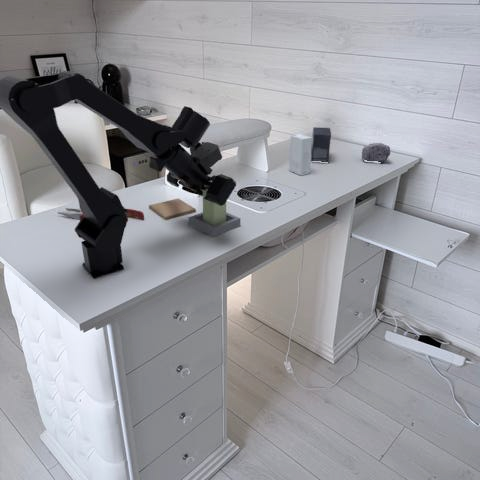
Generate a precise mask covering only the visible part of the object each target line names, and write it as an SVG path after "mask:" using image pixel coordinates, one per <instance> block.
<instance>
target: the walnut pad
mask: <svg viewBox="0 0 480 480" xmlns="http://www.w3.org/2000/svg"><path fill="white" fill-rule="evenodd" d="M148 209H149V210H151V211H152V212H154V213H155V214H156V215H158V216H159V217H161V218H162V219H163V220H165V221H167V220H170V219H175V218H177V217H182V216H185V215H189V214H193V213H197V210H196V208H195V207H193V206H192V205H190V204H188V203H187V202H185V201H183V200H182V199H181V198H174V199H170V200H166V201H162V202H158V203H153V204H149V205H148Z"/></svg>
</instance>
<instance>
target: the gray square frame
mask: <svg viewBox="0 0 480 480" xmlns="http://www.w3.org/2000/svg"><path fill="white" fill-rule="evenodd" d="M188 225H189V226H191V227H192V228H195V229H196V230H199V231H201V232H203V233H205V234H206V235H209V236H210V237H212V238H214V237H217V236H220V235H221V234H224V233H226V232H229V231H231V230H233V229H236V228H238V227H240V226H241V217H238V216H236V215H233V214H231V213H229V212H227V211H226V222H224V223H221V224H219V225H216V226H214V227H213V226H211V225H209V224H207V223H205V222H203V211H202V212H200V213H197V214H193V215H191V216H188Z"/></svg>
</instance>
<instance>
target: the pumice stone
mask: <svg viewBox="0 0 480 480" xmlns="http://www.w3.org/2000/svg"><path fill="white" fill-rule="evenodd" d="M390 155H391V148H390V146H389V145H387V144H385V143H382V142H373V143H372V142H371V143H369V144H368V145H364V147H363V148H362V150H361V159H362V160H363V159H364V160H367V161H378V162H382V163H384V161H386V160H388V158H389V156H390Z"/></svg>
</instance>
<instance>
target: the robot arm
mask: <svg viewBox="0 0 480 480" xmlns="http://www.w3.org/2000/svg"><path fill="white" fill-rule="evenodd" d="M72 101H74V102H76V103H78V104H79V105H81V106H82V107H84V108H86V109H87V110H89V111H90V112H92V113H94V114H96V115H97V116H99V117H100V118H102V119H103V120H104V121H106V122H107V123H110V124H111V125H113V126H114V127H116V128H117V129H119V131H121V132H122V133H123V135H124V136H125V138H126V139H127V140H129V141H130V142H131V143H132V144H133V145H135V147H136V148H138V149H141V150H143V151H146V152H149V153H151V154H154V155H152V156H151V155H150V156H149V165H148V166H149V168H150V169H152V170H154V171H157V172H159V173H162V171H163V170H164V169H166V170H167V171H168V172H167V174H166V181H167V183H169V184H170V185H171V186H174V187H175V188H179V187H180V185H181V186H182V187H181V190H183V191H184V192H187V193H188V194H189V193H190V194H193V195H198V196H201V197H203V191H206V190H207V192H206V196H205V198H204V199H206V200H208V201H210V202H213V203H215V204H218V205H220V206H222V205H224V204H225V203H226V204H227V201H228V199H229V198H230V196H231V195H232V193H233V192H234V190H235V188H236V186H237V182H236V180H234V178H232V177H230V176H227V175H224V174H223V173H220V174H217V175H212V176H210V175H211V174H212V173H213V172H214V171H213V169H212V167H213V166H214V165H215V164H217V162H219V161H221V160H222V159H223V155H222V152H221V150H220V149H221V148H219V145H218V144H216V143H213V142H209V141H202V142H200V141H201V140H202V138H203V136H204V135H205V134H206V132H207V130H208V129H209V127H210V126H211V123H210V121H209V119H207V117H205V116H203V115H202V114H200V113H199V112H197V111H195V110H194V109H193V108H192V107H189V106H185V105H184V106H183V108H182V110H180V113H179V115H178V117H177V118H176V119H175V121H174V123H173V124H172V125H171V126H169V125H165V124H161V123H159V122H157V121H154V120H151V119H149V118H147V117H144V116H141V115H139V114H137V113H135V112H134V111H132V110H131V109H129V108H128V107H126V106H125V105H124V104H122V103H121V102H120V101H118V100H117V99H115V98H113V97H112V96H111V95H109V94H108V93H106V92H105V91H104V90H102V89H100V88H99V87H98V86H96V85H95V84H94V83H92V82H90V81H89V80H88V79H87V78H86V77H85V76H84V75H83V74H81V73H78V72H73V71H70V70H63V71H60V72H58V73H54V74H47V75H40V76H32V77H27V78H26V77H25V78H22V77H18V76H14V75H8V76H5V77H3V78H1V79H0V109H1V110H2V111H3V112H5V114H6V115H8V117H9V118H11V119H12V120H13V121H14V123H16V124H18V125H19V126H20V127H21V128H22V129H23V130H24V131H25V132H26V133H28V134H29V135H30V136H31V137H32V138H33V139H34V140H35V142H36V143H37V145H38V146H39V147H40V149H41V151H43V153H44V154H45V156H47V158H48V159H49V161H50V162H51V164H52V165H53V166H54V168H55V169H56V170H57V171H58V173H59V175H60V176H61V177H62V178H63V180H64V181H65V182H66V184H67V185H68V187H69V188H70V189H71V190H72V192H73V194H74V195H75V196H76V198H77V200H78V205H79V209H80V210H81V212H82V214H83V217H82V219H81V220H79V222H78V223H77V225H76V226H75V227H74V232H75V233H76V235H77V236H78V238H80V239H81V240H83V241H81V249H82V254H83V255H82V256H83V260H84V261H83V262H82V265H81V266H82V267H83V268H84V270H85V271H86V272H87V273H88V275H89V276H90V277H91V278H92V279H99V278H101V277H105V276H108V275H112V274H115V273H118V272H120V271H123V270H125V266H124V265H123V264H122V263H123V253H122V252H123V251H122V246H121V245H122V242H123V237H124V233H125V229H126V227H127V224H128V221H129V218H128V217H127V215H126V213H125V212H127V211H128V210H127V209H128V208H125V207H124V205H123V203H122V201H121V199H120V197H119V196H118V195H117V194H116V193H114V192H112V191H110V190H108V189H106V188H105V187H102V186H101V187H99V185H98V184H97V182H96V181H95V180H94V179H95V178H93V176H92V174H91V173H90V171H89V170H88V169H87V167H86V166H85V165H84V163H83V162H82V160H81V159H80V157H79V156H78V154H77V153H76V152H75V150H74V149H73V147H72V146H71V144H70V143H69V141H68V139H67V138H66V137H65V135H64V134H63V132H62V131H61V129H60V128H59V125H58V120H57V116H56V111H55V109H56V108H59V107H62V106H64V105H66V104H68V103H70V102H72ZM184 147H185V148H187V149H189V152H190V153H189V152H188V150H187V149H185V148H184ZM205 186H206V187H205Z"/></svg>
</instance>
